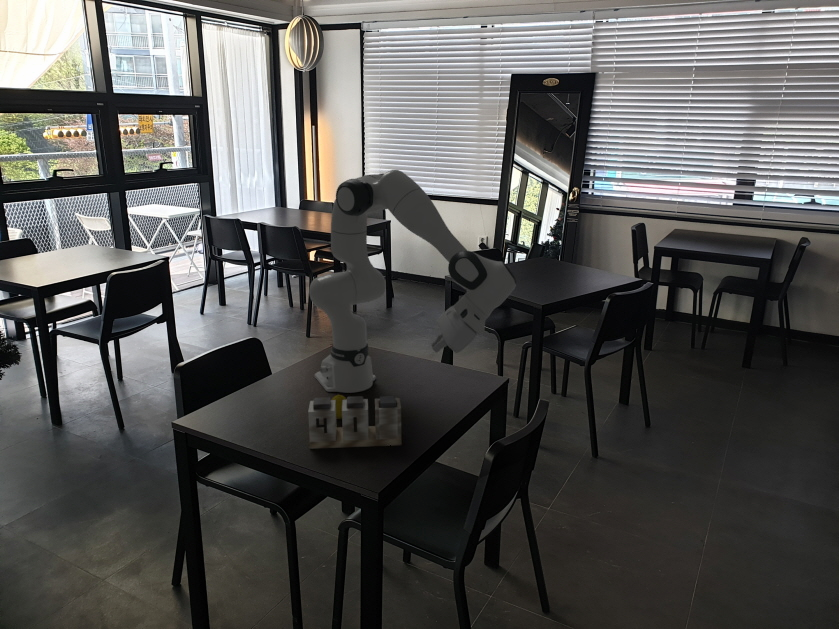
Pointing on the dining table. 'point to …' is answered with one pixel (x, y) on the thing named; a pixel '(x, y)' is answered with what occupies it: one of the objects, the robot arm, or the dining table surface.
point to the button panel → (353, 424)
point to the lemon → (339, 405)
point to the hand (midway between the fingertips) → (433, 349)
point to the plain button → (387, 401)
